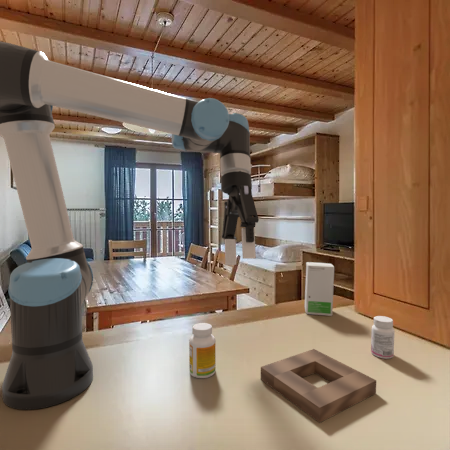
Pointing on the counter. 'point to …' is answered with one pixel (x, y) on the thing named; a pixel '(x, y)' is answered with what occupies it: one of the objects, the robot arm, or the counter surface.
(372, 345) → the pill bottle
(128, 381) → the counter surface
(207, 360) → the supplement bottle
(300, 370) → the socket block
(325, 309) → the skincare box
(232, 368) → the counter surface
